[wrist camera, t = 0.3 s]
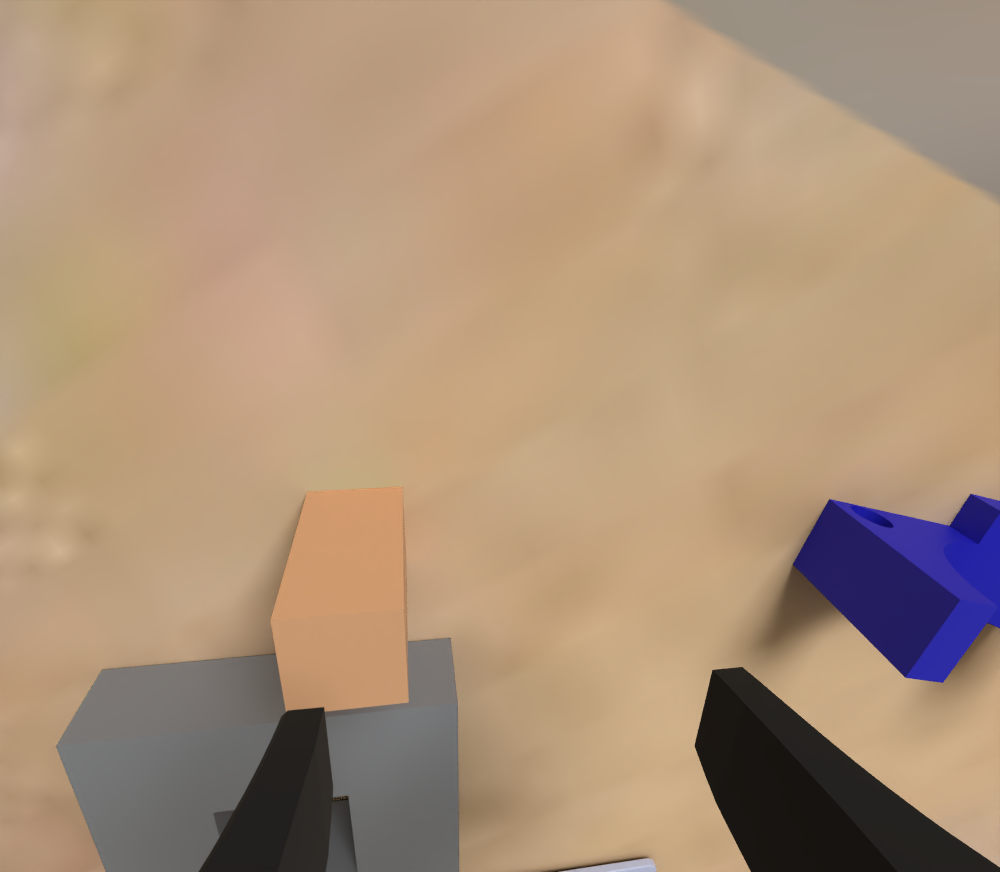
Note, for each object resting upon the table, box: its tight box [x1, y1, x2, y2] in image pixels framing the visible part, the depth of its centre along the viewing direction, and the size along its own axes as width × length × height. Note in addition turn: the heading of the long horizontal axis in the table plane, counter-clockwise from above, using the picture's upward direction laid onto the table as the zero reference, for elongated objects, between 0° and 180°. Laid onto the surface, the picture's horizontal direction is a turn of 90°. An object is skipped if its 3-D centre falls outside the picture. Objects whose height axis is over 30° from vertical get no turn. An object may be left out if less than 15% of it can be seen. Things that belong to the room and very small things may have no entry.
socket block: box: [56, 638, 459, 872], centre depth 22 cm, size 12×12×3 cm
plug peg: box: [270, 487, 409, 712], centre depth 17 cm, size 3×3×6 cm
